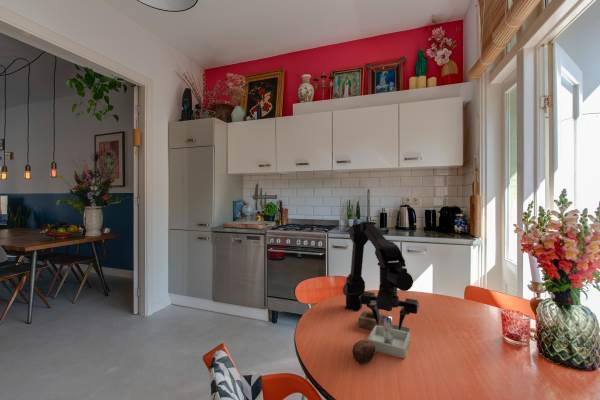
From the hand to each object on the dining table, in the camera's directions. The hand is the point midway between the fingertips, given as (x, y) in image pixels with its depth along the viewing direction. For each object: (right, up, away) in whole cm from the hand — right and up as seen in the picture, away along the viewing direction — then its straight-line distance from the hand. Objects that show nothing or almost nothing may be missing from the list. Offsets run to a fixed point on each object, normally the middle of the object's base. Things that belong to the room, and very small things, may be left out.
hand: (388, 326), depth 93 cm
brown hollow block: (-2, -6, +14) cm, 16 cm away
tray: (0, -6, 0) cm, 6 cm away
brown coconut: (-11, -7, -9) cm, 15 cm away
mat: (+7, -6, +10) cm, 14 cm away
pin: (0, -6, 0) cm, 6 cm away
